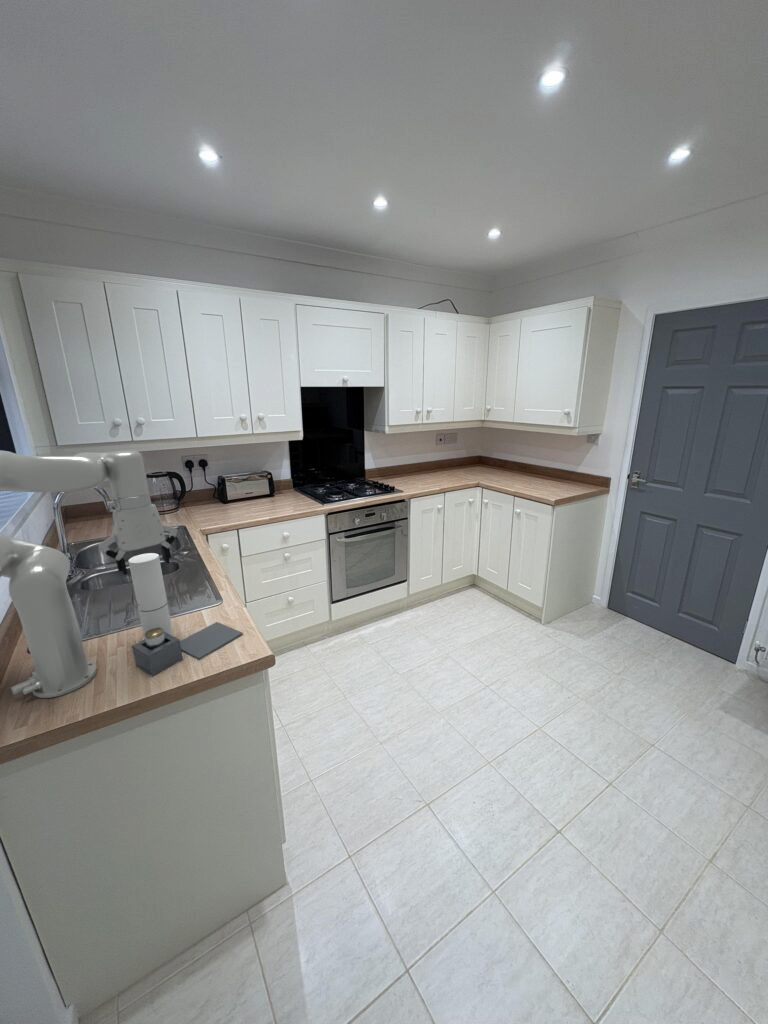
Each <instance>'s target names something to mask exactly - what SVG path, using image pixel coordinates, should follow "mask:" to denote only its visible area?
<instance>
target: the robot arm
mask: <svg viewBox="0 0 768 1024" xmlns="http://www.w3.org/2000/svg"><path fill="white" fill-rule="evenodd" d="M146 474H147V473H146V468H145V465H144V458H143V455H142V454H141V452H139V451H137V450H128V449H127V450H118V451H111V452H95V451H94V452H90V451H89V452H87V451H84V452H79V453H77V454H74V455H73V456H37V455H36V456H35V455H24V454H18V453H15V452H12V451H7V450H1V449H0V492H11V493H18V492H19V493H21V492H22V493H23V492H24V493H68V492H69V493H72V492H73V493H74V492H85V491H90V490H94V489H96V488H99V486H100V485H101V484H102V483H103V482H109V484H110V490H111V493H112V499H110V500H109V501H106V505H107V507H108V508H110V507H111V508H114V509H113V510H112V526H113V527H112V528H113V534H112V535H110V536H109V537H108V538H106V539H104V540H103V541H101V542H100V543H98V548H99V549H100V550H101V551H102V552H104V553H105V554H106V555H107V556H109V557H110V558H111V559H114V560H115V562H116V567H117V570H118V572H121V574H123V576H125V575H127V574H128V570H127V566H126V561H125V558H124V555H125V554H126V552H132V551H136V550H140V549H144V548H149V547H153V546H157V545H161V547H160V550H161V555H162V560H163V562H164V563H166V564H170V559H172V557H171V550H170V548H171V546H172V544H173V542H175V539H176V537H177V534H178V528H176V527H175V526H169V525H165V524H163V523H162V519H161V516H160V513H159V511H158V508H157V506H156V504H154V503H152V501H151V500H152V499H151V496H150V489H149V485H148V480H147V475H146ZM165 532H168V533H169V535H168V536H167V538H166V535H165ZM113 543H115V545H116V546H117V548H116V549H115V551H114V550H111V549H110V548H109V546H110V545H111V544H113ZM70 562H71V561H70V559H69V557H68V556H67V555H66V554H65V553H63V551H61V550H58V549H57V548H56V549H55V548H53V547H50V546H46V545H43V544H39V543H35V542H32V541H27V540H23V539H19V538H15V537H12V536H9V535H8V536H7V535H4V534H0V578H1V577H4V578H9V581H8V593H9V597H10V598H11V601H12V604H13V605H14V607H15V609H16V612H17V614H18V617H19V620H20V622H21V626H22V630H23V633H24V636H25V639H26V642H27V647H28V650H29V653H30V657H31V660H32V664H33V667H34V671H31V675H32V676H30V677H28V678H27V680H25V681H24V682H20V683H18V684H16V685H13V686H11V687H10V691H11V692H12V694H13V696H16V695H17V694H20V693H23V694H24V695H25V696H26V695H28V694H29V693H32V695H33V696H34V697H36V698H39V699H48V698H49V699H50V698H56V697H60V696H65V695H66V694H69V693H72V692H74V691H76V690H78V689H80V688H81V687H83V686H85V685H87V684H88V683H89V682H90V681H91V680H93V678H94V677H95V676H96V674H97V673H98V672H97V671H98V667H97V665H96V664H95V662H92V661H89V660H87V657H86V651H85V647H84V644H83V640H82V636H81V633H80V628H79V625H78V621H77V616H76V613H75V609H74V606H73V601H72V600H71V597H70V595H69V590H68V588H67V579H68V576H69V573H70V569H71V563H70Z"/></svg>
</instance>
